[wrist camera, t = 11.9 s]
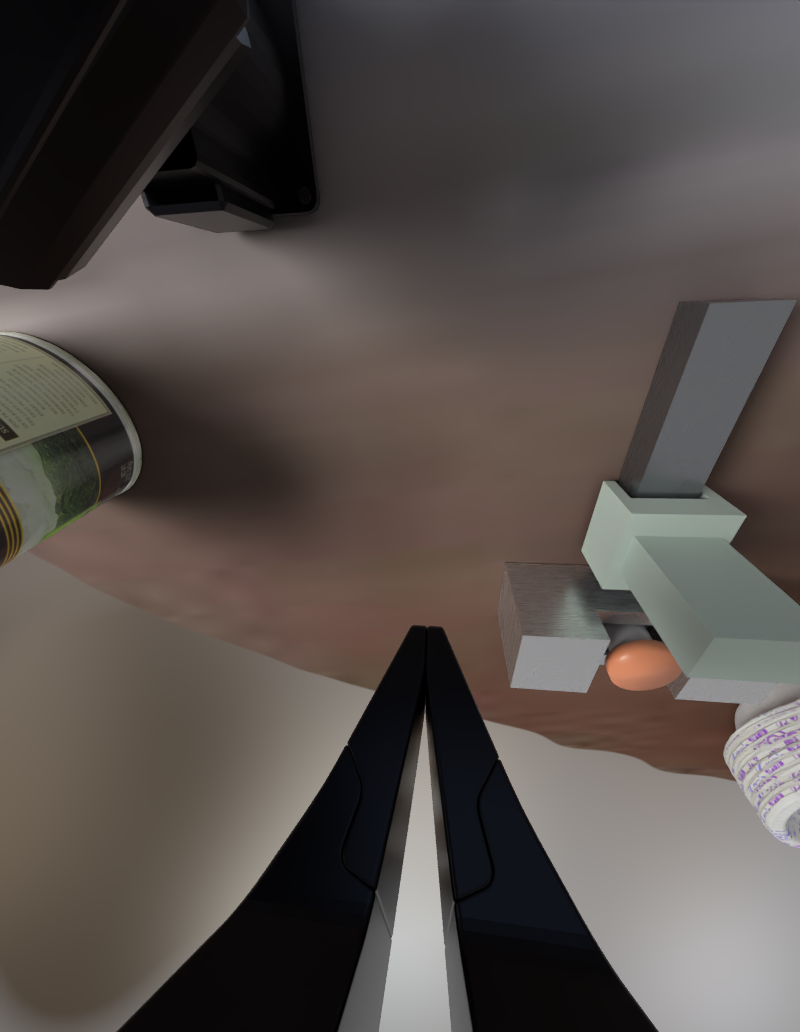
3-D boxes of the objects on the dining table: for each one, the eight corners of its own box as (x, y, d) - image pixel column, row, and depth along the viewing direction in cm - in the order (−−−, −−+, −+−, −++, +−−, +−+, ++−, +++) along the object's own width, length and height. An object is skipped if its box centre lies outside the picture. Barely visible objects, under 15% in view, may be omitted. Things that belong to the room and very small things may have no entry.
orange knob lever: (587, 584, 22) (621, 650, 18) (646, 586, 22) (694, 654, 18) (574, 620, 24) (602, 688, 20) (628, 623, 24) (667, 692, 20)
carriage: (603, 480, 19) (716, 611, 11) (700, 481, 19) (888, 619, 11) (581, 550, 22) (659, 694, 14) (665, 553, 21) (795, 704, 13)
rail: (679, 302, 15) (709, 303, 13) (756, 298, 14) (797, 299, 13) (591, 559, 23) (603, 580, 21) (639, 561, 22) (655, 582, 21)
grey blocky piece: (505, 562, 23) (522, 635, 18) (727, 569, 22) (812, 651, 17) (497, 612, 26) (510, 687, 21) (694, 621, 25) (758, 704, 20)
